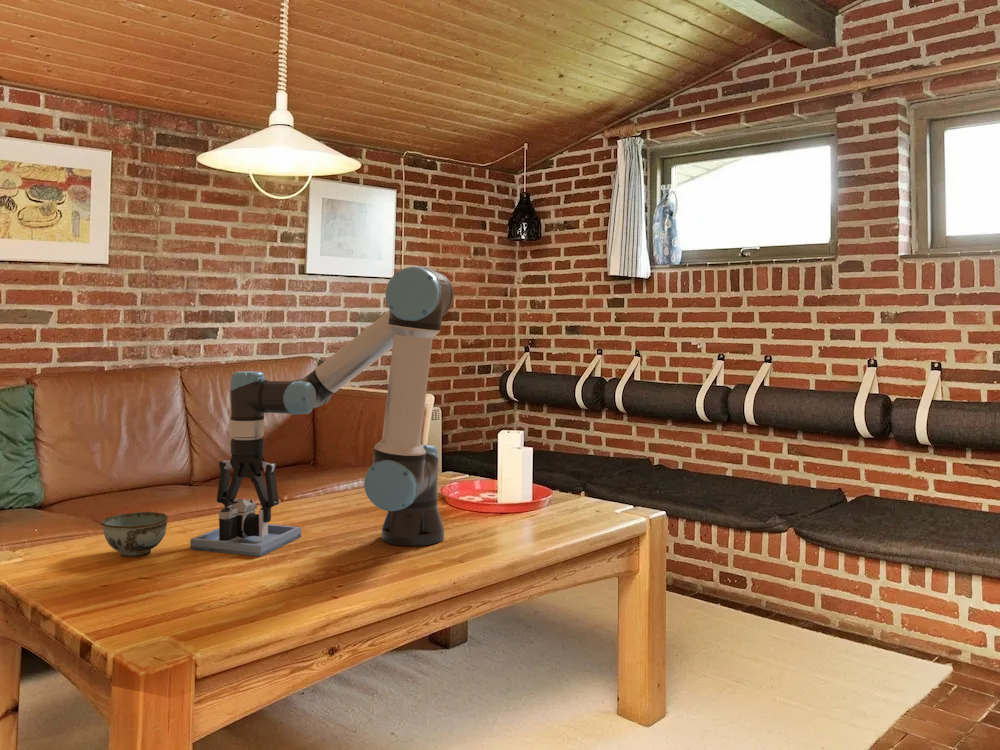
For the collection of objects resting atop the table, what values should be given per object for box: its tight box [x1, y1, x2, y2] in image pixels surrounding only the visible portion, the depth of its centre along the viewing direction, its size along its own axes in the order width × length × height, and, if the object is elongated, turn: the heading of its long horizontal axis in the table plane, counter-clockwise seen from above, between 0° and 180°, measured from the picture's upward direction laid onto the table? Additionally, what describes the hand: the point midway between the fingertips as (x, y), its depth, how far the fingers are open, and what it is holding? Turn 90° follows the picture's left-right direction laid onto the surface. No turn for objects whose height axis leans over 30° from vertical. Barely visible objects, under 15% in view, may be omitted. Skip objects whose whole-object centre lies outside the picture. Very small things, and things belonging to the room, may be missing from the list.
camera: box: [218, 498, 259, 542], centre depth 193 cm, size 13×8×9 cm, turn 168°
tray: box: [189, 523, 302, 558], centre depth 194 cm, size 18×18×2 cm
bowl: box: [100, 511, 169, 559], centre depth 183 cm, size 14×13×8 cm
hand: (247, 534), depth 194 cm, fingers closed on camera, 8 cm apart
